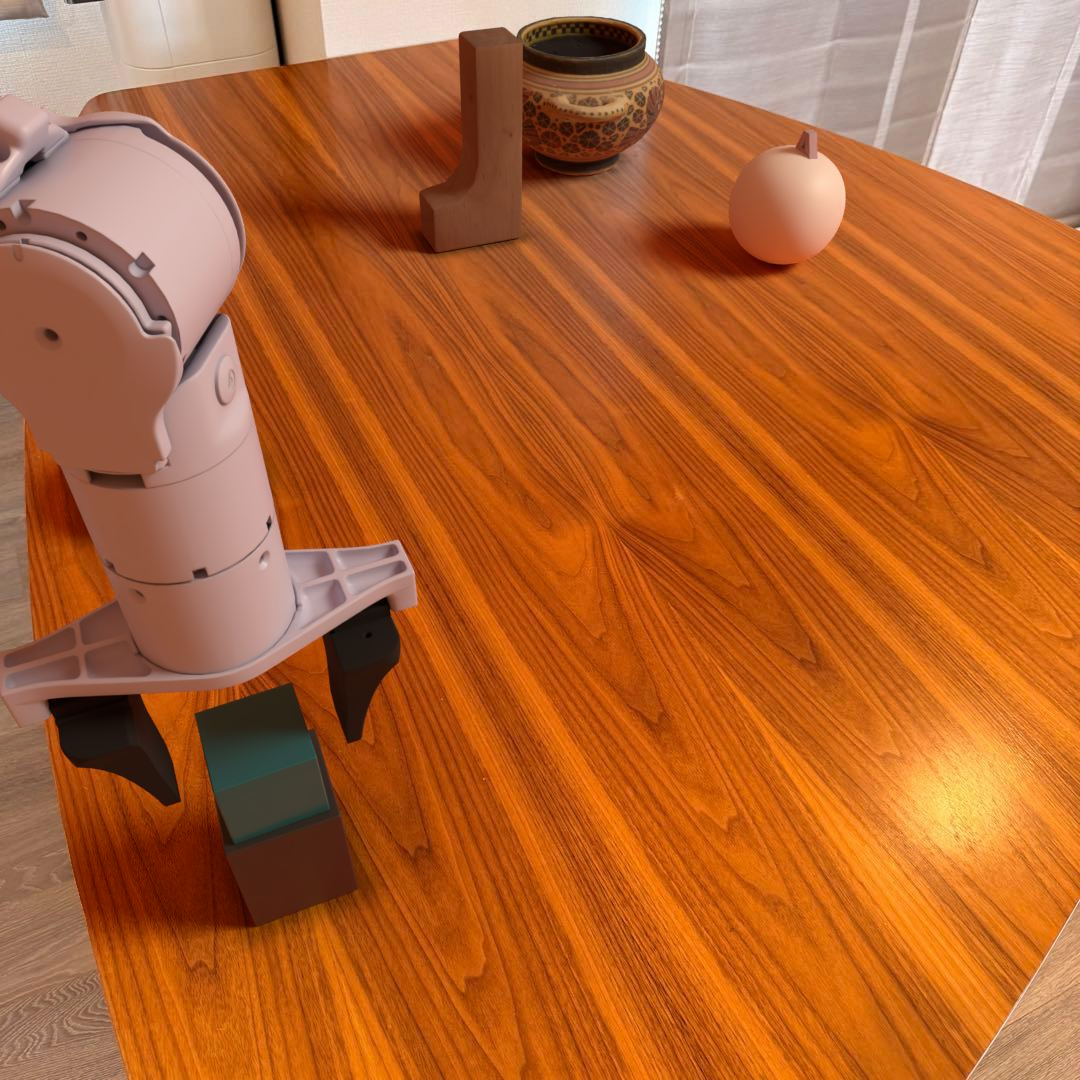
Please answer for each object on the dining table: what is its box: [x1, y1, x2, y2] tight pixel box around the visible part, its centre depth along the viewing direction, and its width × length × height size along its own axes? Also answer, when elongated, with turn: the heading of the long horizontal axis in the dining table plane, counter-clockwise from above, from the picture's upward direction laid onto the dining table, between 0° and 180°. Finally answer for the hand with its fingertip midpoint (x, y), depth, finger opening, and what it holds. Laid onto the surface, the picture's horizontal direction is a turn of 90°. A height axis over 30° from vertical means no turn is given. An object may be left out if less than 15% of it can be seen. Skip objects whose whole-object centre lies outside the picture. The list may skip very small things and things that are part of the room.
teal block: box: [194, 682, 330, 844], centre depth 42 cm, size 4×4×4 cm
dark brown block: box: [212, 727, 359, 927], centre depth 46 cm, size 5×5×7 cm
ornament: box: [728, 128, 847, 265], centre depth 89 cm, size 10×10×12 cm
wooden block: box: [418, 26, 523, 253], centre depth 89 cm, size 9×4×18 cm, turn 113°
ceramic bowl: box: [515, 15, 666, 177], centre depth 104 cm, size 24×18×15 cm
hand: (261, 753), depth 42 cm, fingers open, 7 cm apart
